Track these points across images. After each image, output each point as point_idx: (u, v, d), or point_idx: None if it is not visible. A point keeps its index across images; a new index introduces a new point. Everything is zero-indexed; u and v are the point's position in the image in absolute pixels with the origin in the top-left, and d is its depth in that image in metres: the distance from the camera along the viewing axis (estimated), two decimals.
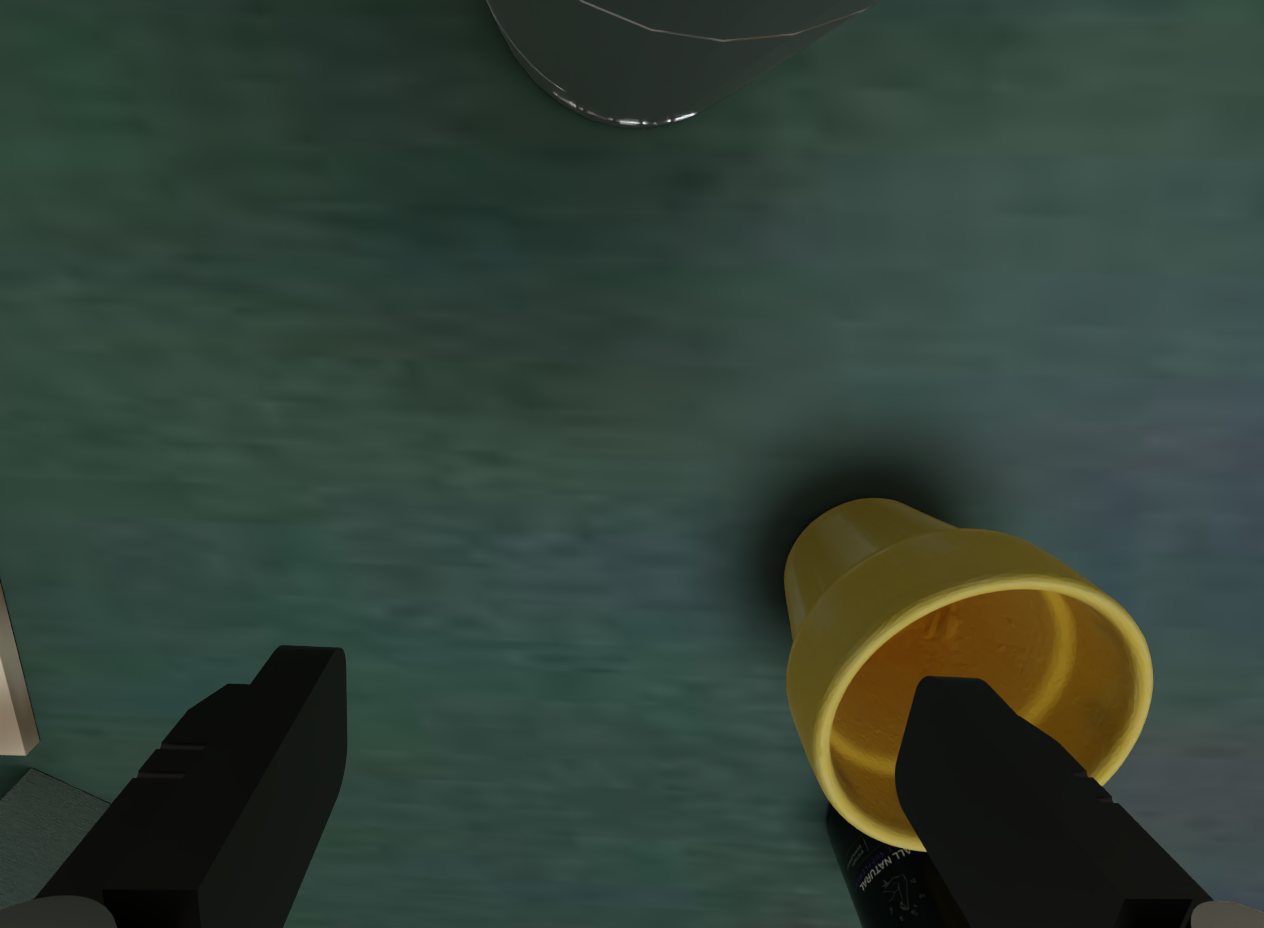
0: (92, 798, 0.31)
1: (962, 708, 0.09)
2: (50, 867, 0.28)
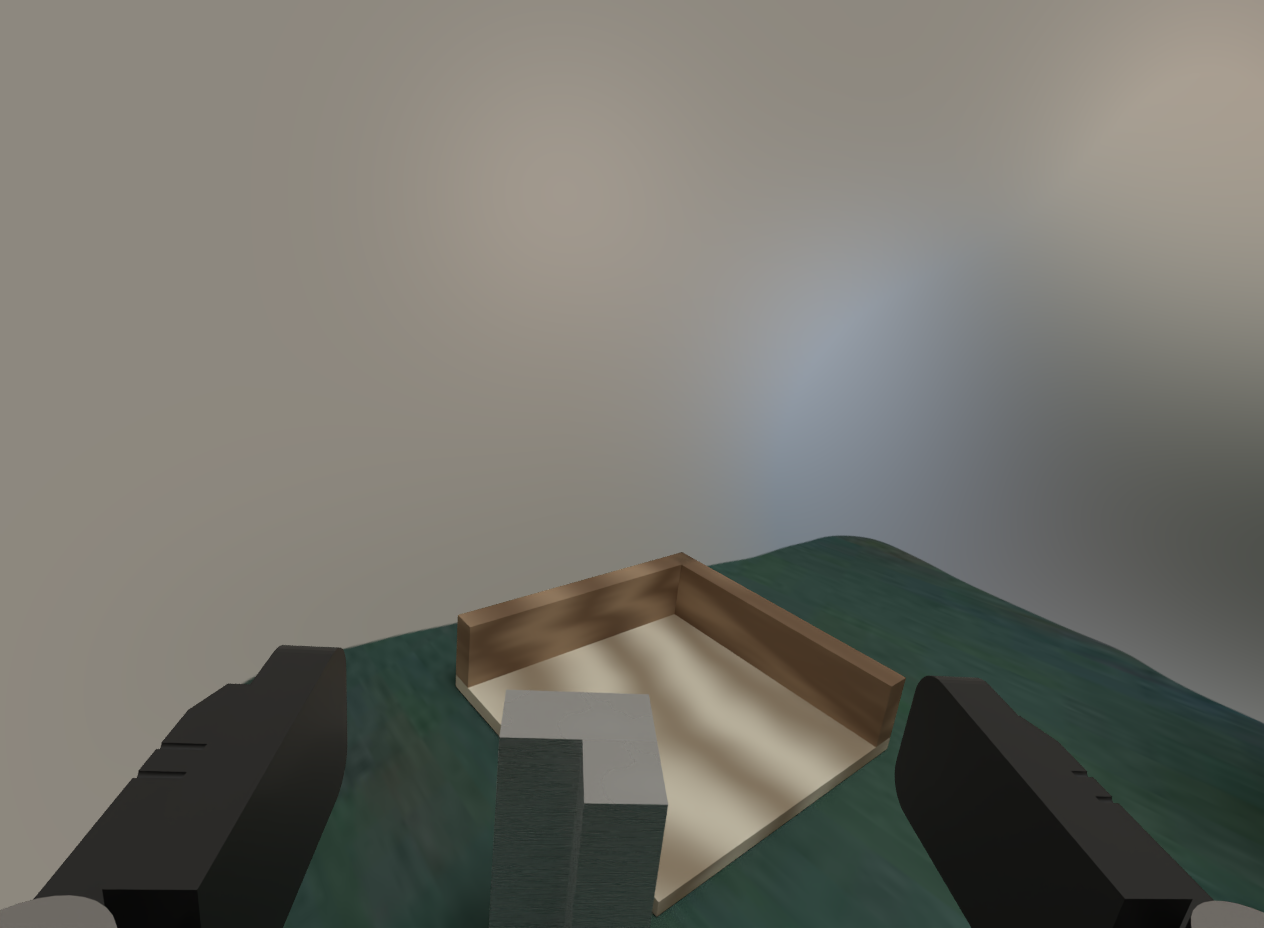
0: None
1: (962, 708, 0.09)
2: None
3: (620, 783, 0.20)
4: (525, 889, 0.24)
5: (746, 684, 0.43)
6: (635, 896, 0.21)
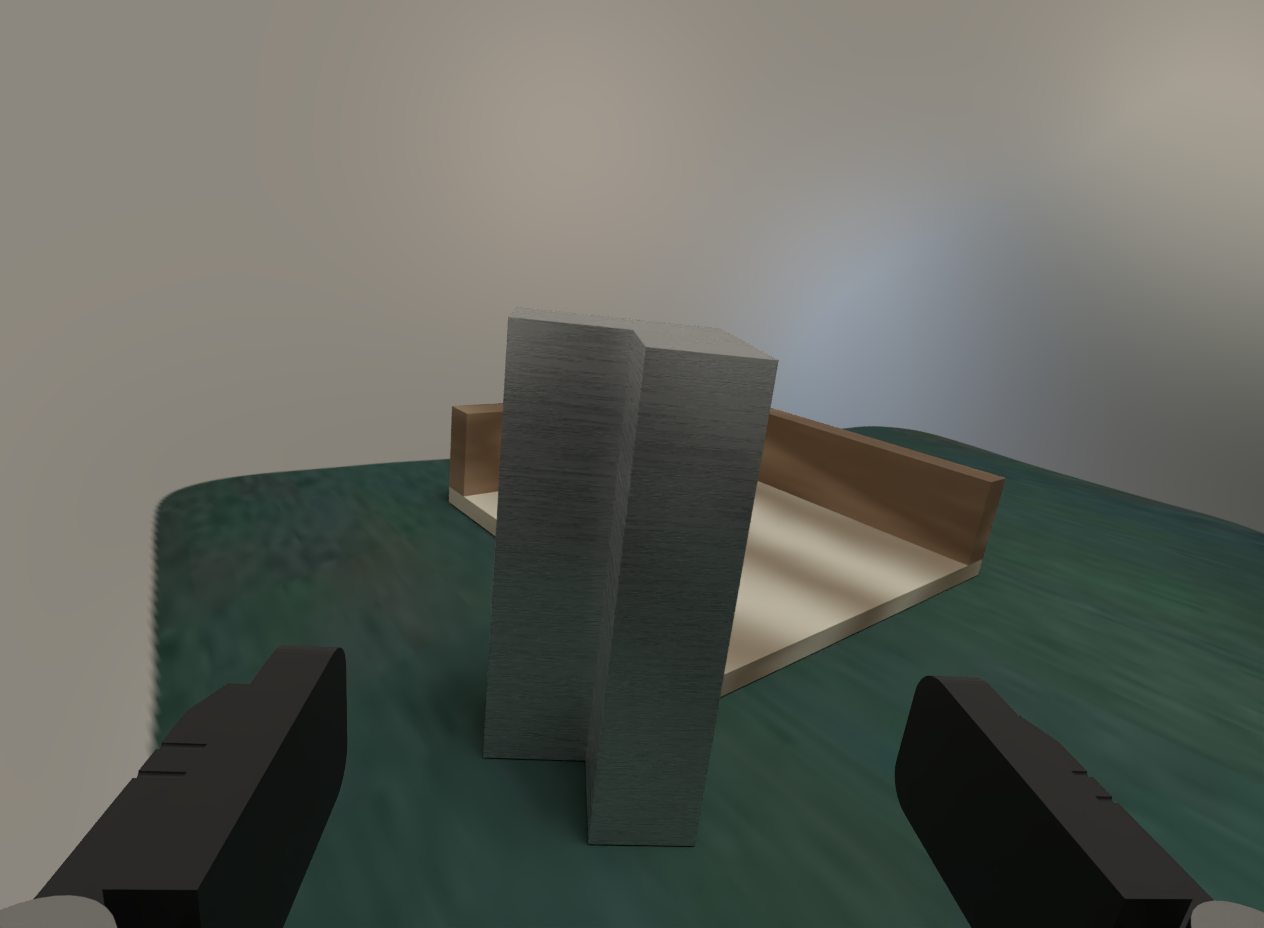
0: None
1: (962, 708, 0.09)
2: None
3: (697, 346, 0.13)
4: (542, 591, 0.16)
5: (800, 512, 0.35)
6: (718, 536, 0.13)
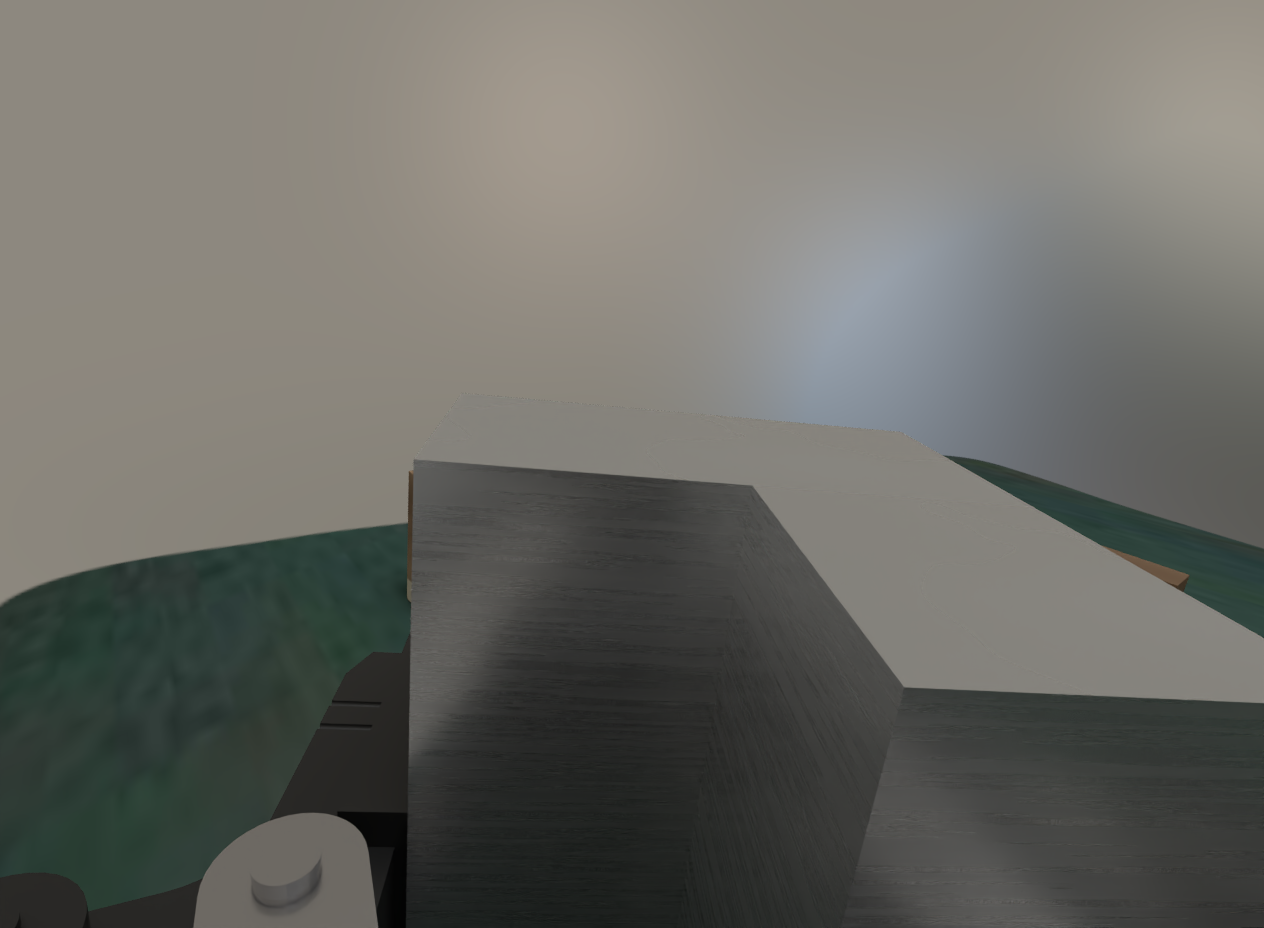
0: None
1: None
2: None
3: (1023, 610, 0.04)
4: None
5: None
6: None
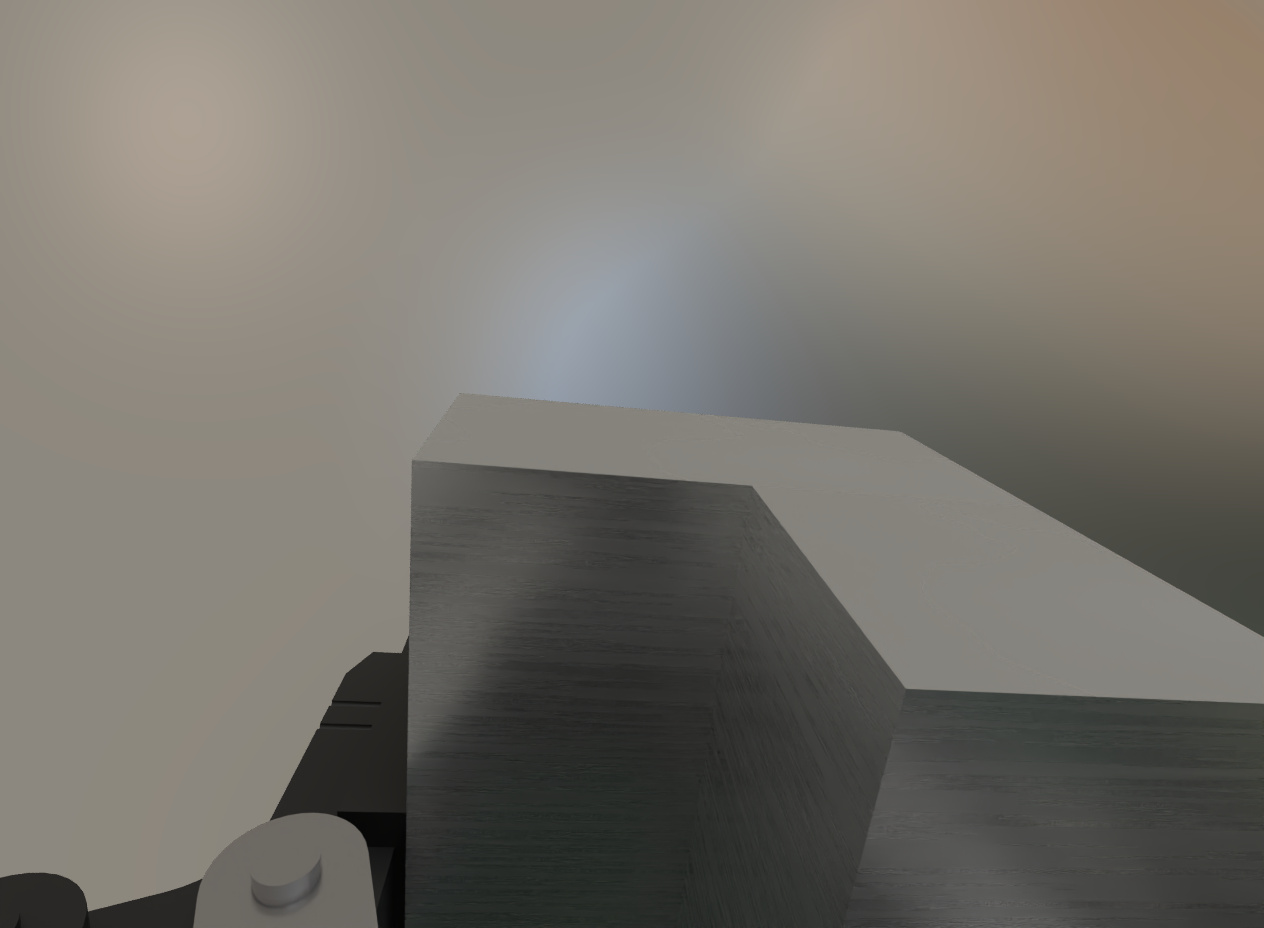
0: None
1: None
2: None
3: (1024, 611, 0.04)
4: None
5: None
6: None
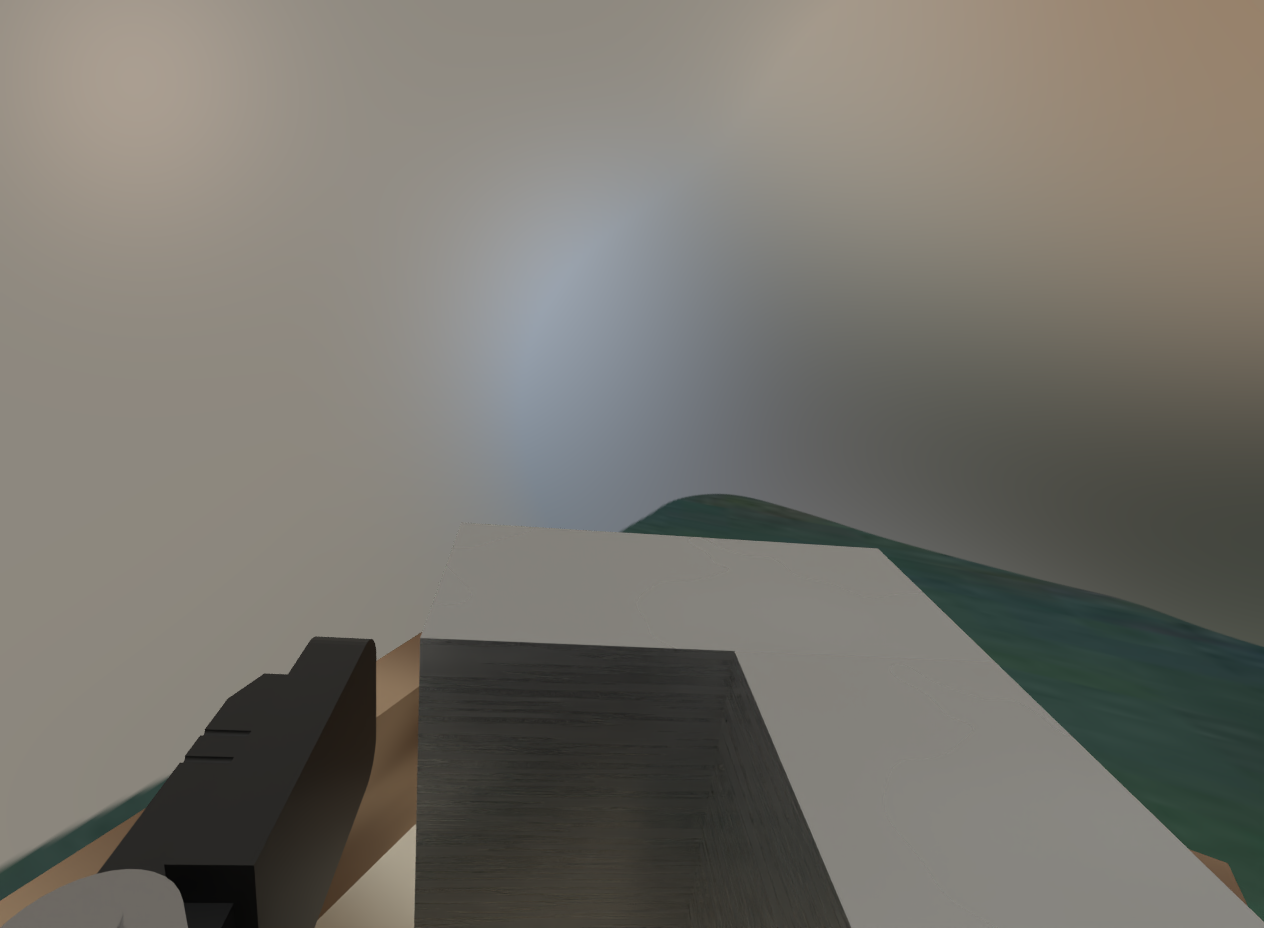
0: None
1: None
2: None
3: (972, 825, 0.04)
4: None
5: None
6: None
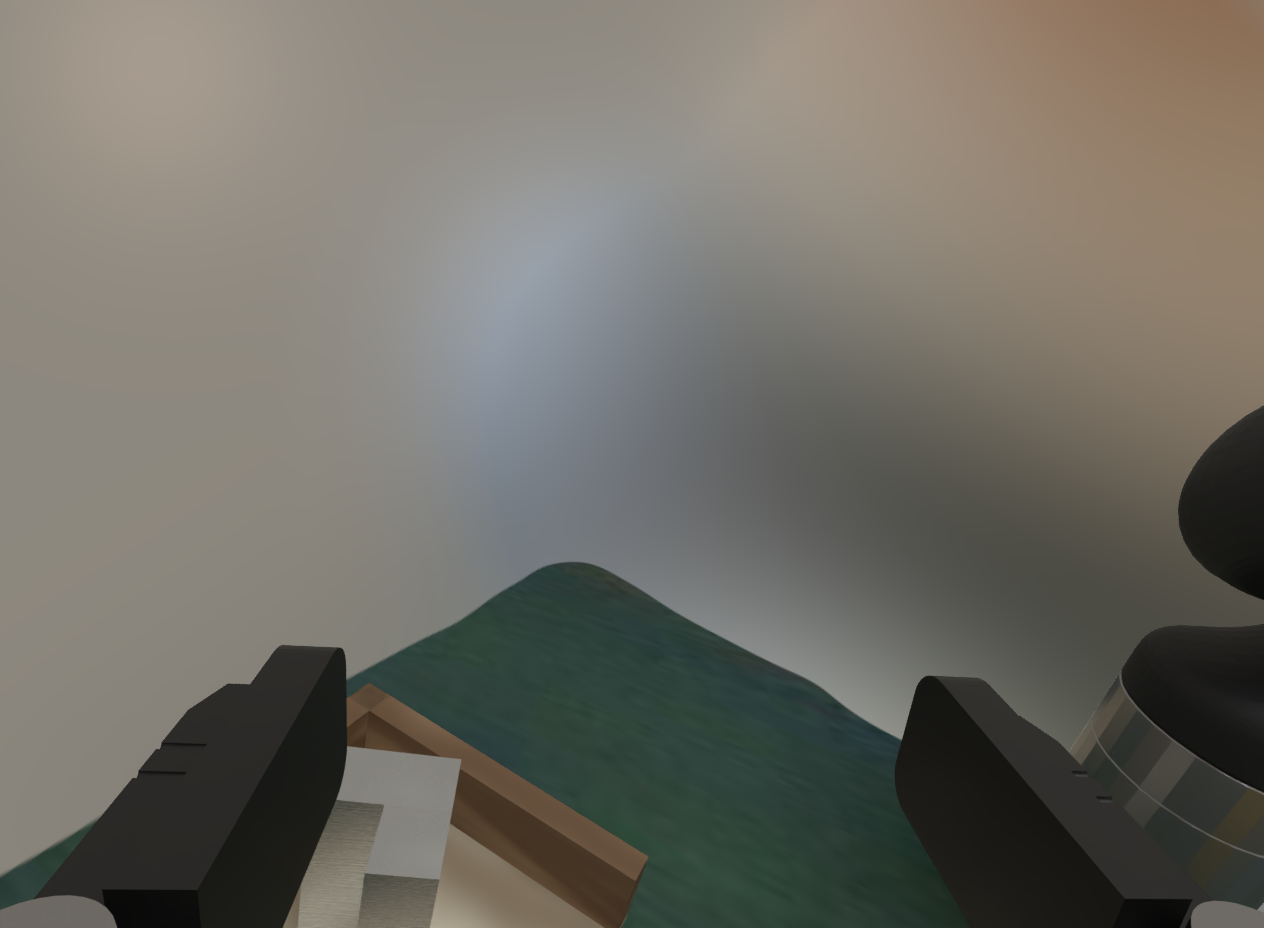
0: None
1: (962, 708, 0.09)
2: None
3: (403, 854, 0.23)
4: (329, 914, 0.27)
5: (461, 875, 0.34)
6: None
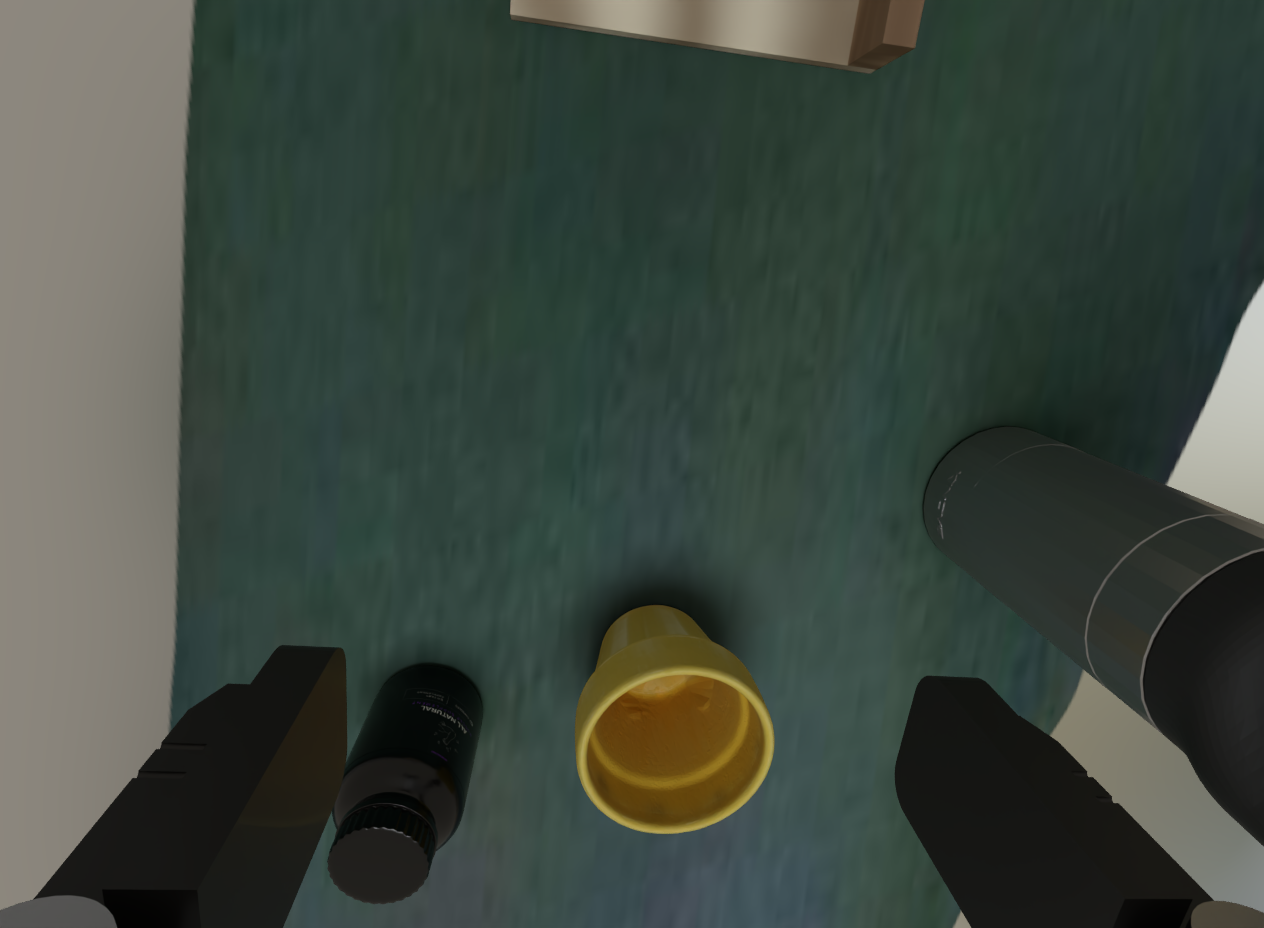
0: None
1: (962, 708, 0.09)
2: None
3: None
4: None
5: None
6: None
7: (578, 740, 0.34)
